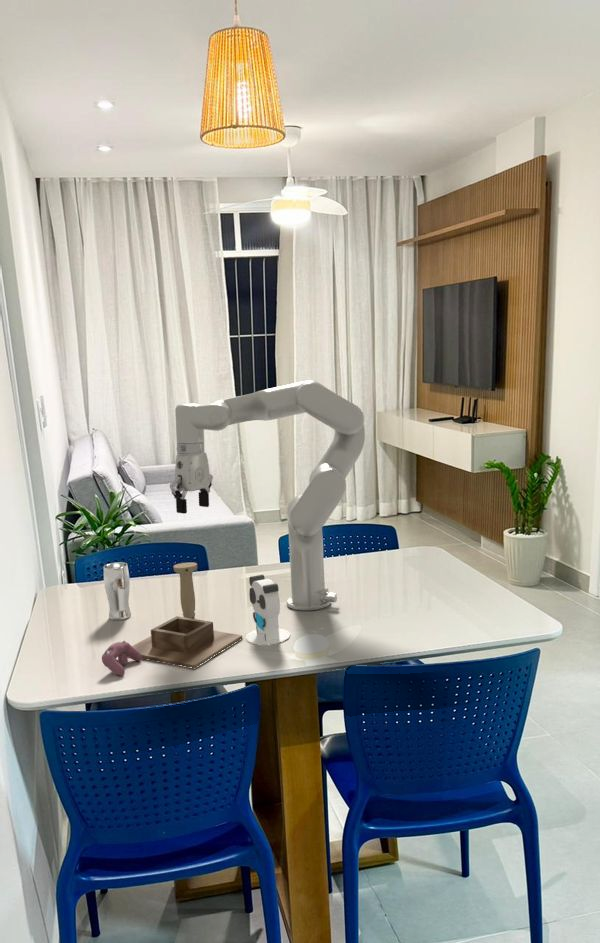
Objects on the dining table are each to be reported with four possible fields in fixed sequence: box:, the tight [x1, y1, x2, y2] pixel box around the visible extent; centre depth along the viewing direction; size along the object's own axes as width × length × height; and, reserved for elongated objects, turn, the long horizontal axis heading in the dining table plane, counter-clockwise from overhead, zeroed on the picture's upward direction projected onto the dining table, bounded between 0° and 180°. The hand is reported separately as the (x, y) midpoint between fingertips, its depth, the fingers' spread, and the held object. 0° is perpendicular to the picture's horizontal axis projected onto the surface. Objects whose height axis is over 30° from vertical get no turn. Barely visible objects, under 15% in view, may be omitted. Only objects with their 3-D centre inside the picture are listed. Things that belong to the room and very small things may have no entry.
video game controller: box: [101, 640, 143, 677], centre depth 179 cm, size 10×5×7 cm, turn 163°
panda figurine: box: [245, 574, 291, 646], centre depth 194 cm, size 12×11×15 cm
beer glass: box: [103, 561, 132, 621], centre depth 214 cm, size 7×7×15 cm
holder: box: [131, 615, 243, 669], centre depth 190 cm, size 22×20×6 cm
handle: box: [173, 561, 198, 619], centre depth 211 cm, size 5×6×15 cm
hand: (193, 509), depth 212 cm, fingers open, 9 cm apart
